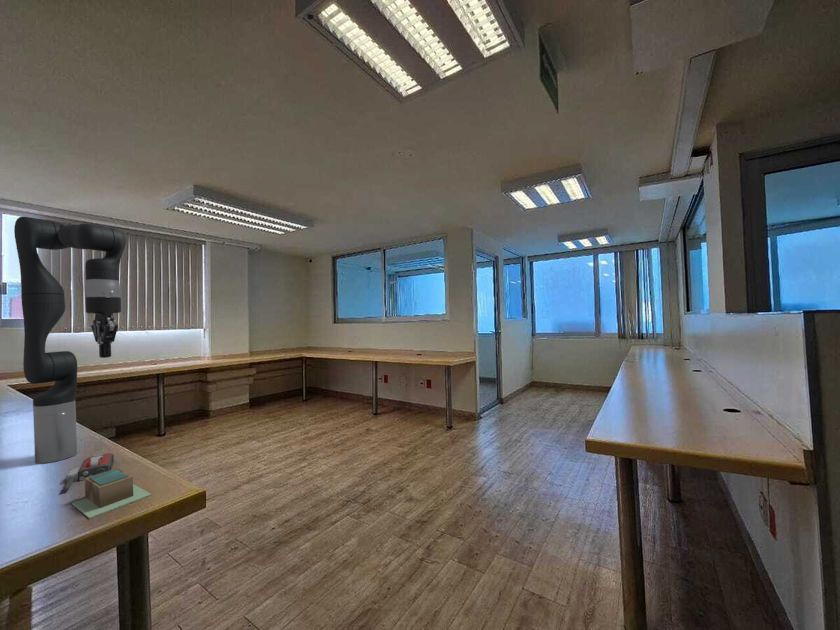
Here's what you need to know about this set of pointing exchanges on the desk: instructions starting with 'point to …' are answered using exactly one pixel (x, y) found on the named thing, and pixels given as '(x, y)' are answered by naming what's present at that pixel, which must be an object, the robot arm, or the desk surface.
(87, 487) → the brown teal box
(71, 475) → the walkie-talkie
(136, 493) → the mat
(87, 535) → the desk surface
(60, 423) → the robot arm
